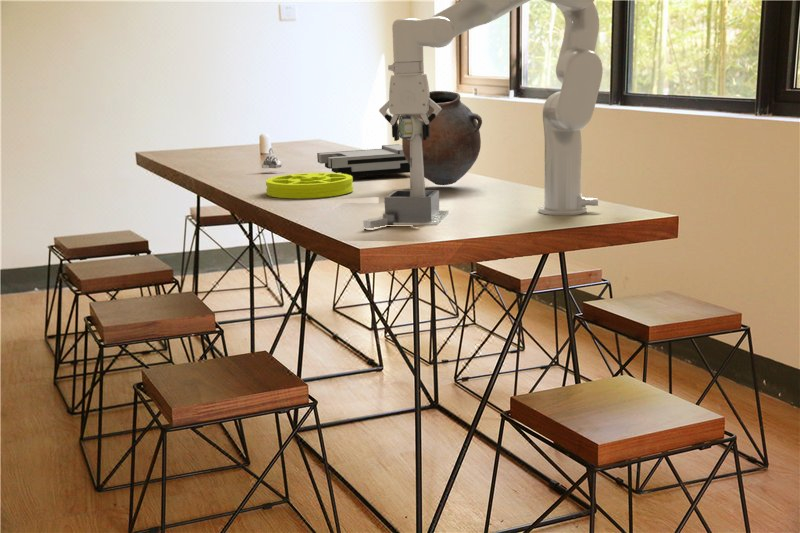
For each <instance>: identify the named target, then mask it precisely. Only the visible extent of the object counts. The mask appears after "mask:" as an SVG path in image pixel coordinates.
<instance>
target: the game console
mask: <svg viewBox="0 0 800 533" xmlns="http://www.w3.org/2000/svg"><path fill="white" fill-rule="evenodd" d="M316 155H317V163H319V164H321V165H322V164H324V167H325V168H327V169H331V173H341V174H348V175H351V176H352V177H353V178H354V177H355V178H356V177H365V176H366V177H368V176H381V175H391V174H392V175H393V174H406V173H409V174H410V164H409V163H408V161H407V160H406V158H405V156H404V153H403V148H402V144H399V143H398V144H386V145H385V144H384V145H381V148H374V149H373V148H372V149H359V150H346V151H329V152H317V153H316Z"/></svg>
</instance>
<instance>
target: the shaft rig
mask: <svg viewBox="0 0 800 533" xmlns="http://www.w3.org/2000/svg"><path fill="white" fill-rule="evenodd" d="M425 196H426V197H410V189H408V190H407V189H396V190H395V189H394V190H393V191H391V192H390V193H389V194H387V195H386V196H384V213H382V216H377V217H373V218H370V219H369V218H368V219H365V220H363V228H364V227H365V228H374V227H380V226H385V225H414V226H438V225H439V224H440V223H441V222H442V221H443V220H444V219H445V218H446V217H447V216H448V215H449V210H440V190H438V189H437V190H436V189H435V190H434V189H431V190H429V189H427V190H426V189H425Z"/></svg>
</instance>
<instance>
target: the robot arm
mask: <svg viewBox="0 0 800 533" xmlns="http://www.w3.org/2000/svg"><path fill="white" fill-rule="evenodd" d="M529 1H531V0H459V1H458V2H456V3H454V4H452V5H450V6H449V7H447V8H445V9H443V10H442V11H439V12H438V13H436V14H434V15H433V16H431V17H429V18H420V19H419V18H399V19H395V20H393V23H392V27H391V28H392V29H391V30H392V53H393V62H392V64H388V65H387V67H388V69H387V70H388V71H389V72H390V71H391V72H393V75H390V80H389V90H388V101H386V103H385V104H383V105H382V106H381V108H379V110H378V112H379V113H380V114H381V115H382V116H383V117H384V119H385V120H386V121H387V122H388V123H389V124H390V125H391V137H392V138H394V139H393V140H394V142H397V141H399V140H400V137H399V134H400V133H399V130H398V124H399V117H400V115H421V117H422V119H423V121H424V125H423V140H428V137H430V123H431V122H432V121H433V119H434V118H435V117H436V116H437V115H438V113H439V112H440V111H441V107H440V106H439V105H437V104H436V103H435V102H434V101H433V100H431V99H430V93H429V92H430V87H429V86H430V85H429V81H428V75H427V74H426V73H424V72H425V70H424V67H425V66H424V47H428V48H429V47H430V48H444V47H447V46H448V45H449V44H451V43H452V42H453V40H454V39H455V38H456V37H458V36H459V35H461V34H464V33H465V32H467V31H469V30H471V29H474V28H476V27H479V26H483V25H487V24H488V23H489V24H490V23H492V22H493V21H496V20H497V19H499V18H501V17H503V16H504V15H506V14H508V13H509V12H512V11H513V10H515V9H517V8H519V7H521V6H522V5H524V4H526V3H529ZM543 1H544V2H548V3H552V4H555V6H556V8H557V9H559V11H560V12H561V14H562V15H563V18H564V23H565V24H564V25H565V27H564V33H563V39H562V44H561V47H560V51H559V53H558V54H559V56H558V58H557V62H556V66H555V75H556V78H557V79H558V81H559V82H560V83H561V89H560V91H556V92H554V93H552V94H551V95H549V96H548V98H547V99H546V100H545V102H544V104H543V107H542V125H543V134H544V196H543V197H544V205H541V206H539V207H538V212H539V213H540V214H542V215H547V216H559V217H560V216H561V217H562V216H578V215H583V214H585V213H586V212H587V209H588V208H587V207H586V206H591V207H598V206H599V198H593V197H588V198H587V197H585V196H583V193H582V190H581V189H582V146H583V145H582V144H583V143H582V132H581V131H582V129H584V128H586V126H587V125H589V123H590V121H591V119H592V117H593V114H594V112H595V109H596V108H595V107H596V104H597V99H598V96H599V92H600V91H599V90H600V87H601V83H602V79H603V73H604V72H603V70H604V69H603V62H602V60H601V58H600V57H599V55H598V54H597V53H595V52H596V47H597V41H598V38H599V37H598V36H599V30H600V17H599V13H598V10H597V7H596V4H595V3H594V2H595V0H543ZM430 106H431V107H432V108H434V112H433V113H432V114H431V115H430V116H428V114H427V112H429V111H430ZM387 110H388V111H389V112H388V111H387Z"/></svg>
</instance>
